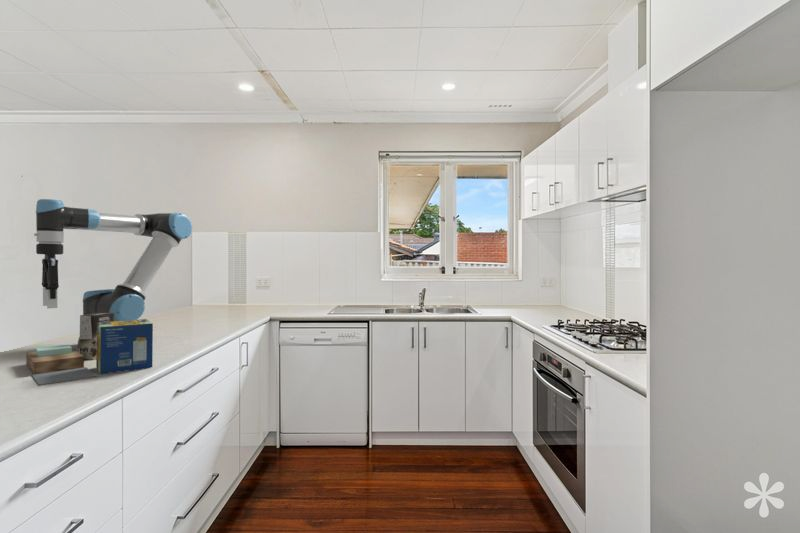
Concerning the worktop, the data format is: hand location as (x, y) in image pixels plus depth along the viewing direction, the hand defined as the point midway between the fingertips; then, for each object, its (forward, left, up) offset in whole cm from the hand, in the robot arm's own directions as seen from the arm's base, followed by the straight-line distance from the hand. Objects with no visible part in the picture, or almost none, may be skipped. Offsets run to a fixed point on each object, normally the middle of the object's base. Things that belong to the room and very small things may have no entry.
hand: (49, 306), depth 155 cm
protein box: (-16, +27, -20) cm, 37 cm away
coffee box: (-13, +3, -20) cm, 24 cm away
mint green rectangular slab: (0, +8, -15) cm, 17 cm away
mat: (0, +27, -19) cm, 33 cm away
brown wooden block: (0, +10, -19) cm, 22 cm away
